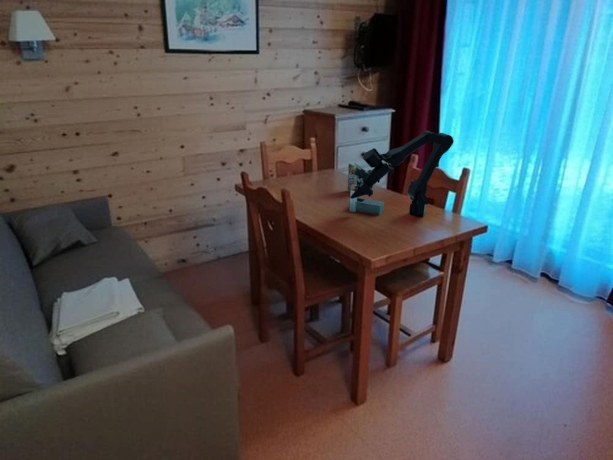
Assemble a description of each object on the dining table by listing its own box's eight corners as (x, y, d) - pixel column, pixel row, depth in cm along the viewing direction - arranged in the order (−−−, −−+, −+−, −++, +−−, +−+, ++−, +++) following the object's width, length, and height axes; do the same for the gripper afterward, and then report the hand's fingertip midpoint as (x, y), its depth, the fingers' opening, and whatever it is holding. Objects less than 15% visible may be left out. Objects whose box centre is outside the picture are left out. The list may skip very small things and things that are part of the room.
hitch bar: (383, 210, 217) (384, 201, 216) (379, 215, 212) (380, 206, 210) (354, 205, 223) (354, 196, 222) (348, 209, 217) (349, 200, 216)
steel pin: (356, 210, 209) (358, 185, 205) (354, 212, 207) (356, 186, 202) (350, 209, 210) (352, 184, 206) (348, 211, 208) (350, 185, 203)
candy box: (346, 190, 246) (348, 163, 240) (353, 190, 247) (355, 162, 241) (352, 195, 238) (354, 167, 232) (360, 195, 239) (362, 166, 234)
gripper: (362, 156, 208) (337, 178, 212) (367, 166, 191) (339, 190, 195) (378, 173, 211) (353, 195, 215) (384, 184, 194) (356, 208, 198)
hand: (350, 196), depth 206 cm, fingers closed on steel pin, 3 cm apart
